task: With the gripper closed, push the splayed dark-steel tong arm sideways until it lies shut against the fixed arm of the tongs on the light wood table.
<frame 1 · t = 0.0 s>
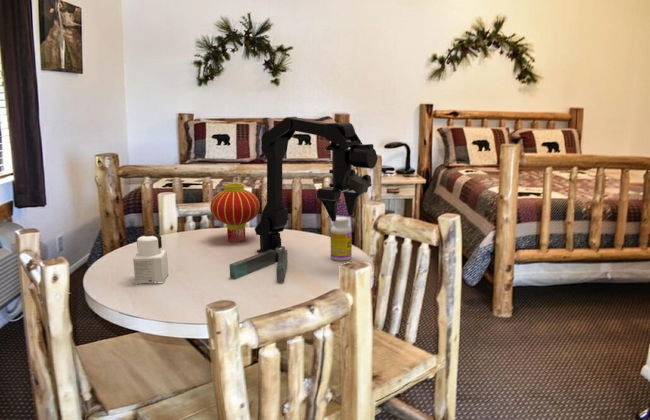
hand: (342, 218, 165), 15 cm above the table, fingers open, 9 cm apart
tong arm: (282, 265, 162), point 2 cm above the table, hinge at 35.0°
lantern: (236, 240, 198), on the table
container: (152, 280, 158), on the table
supplement bottle: (341, 258, 176), on the table
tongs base: (280, 261, 173), on the table
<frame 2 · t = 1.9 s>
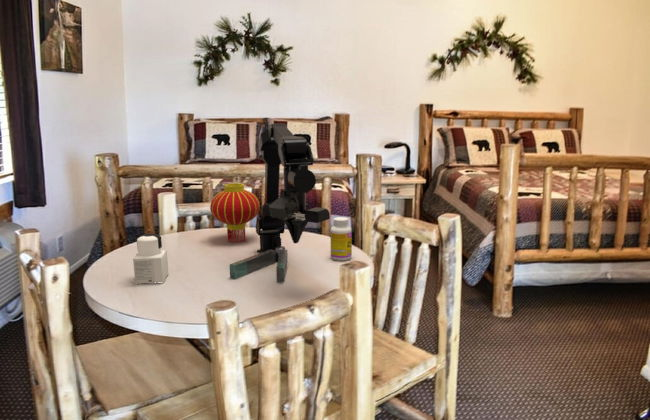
hand: (295, 243, 150), 12 cm above the table, fingers closed
nothing on the table moved.
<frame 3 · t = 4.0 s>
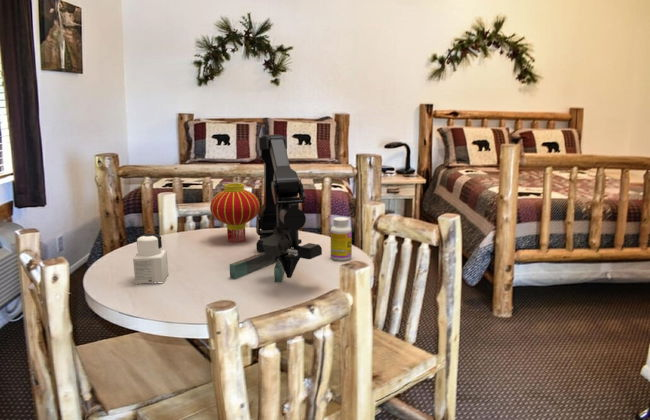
hand: (289, 277, 153), 2 cm above the table, fingers closed
tong arm: (281, 265, 162), point 2 cm above the table, hinge at 33.3°, touching gripper
everything else where it was.
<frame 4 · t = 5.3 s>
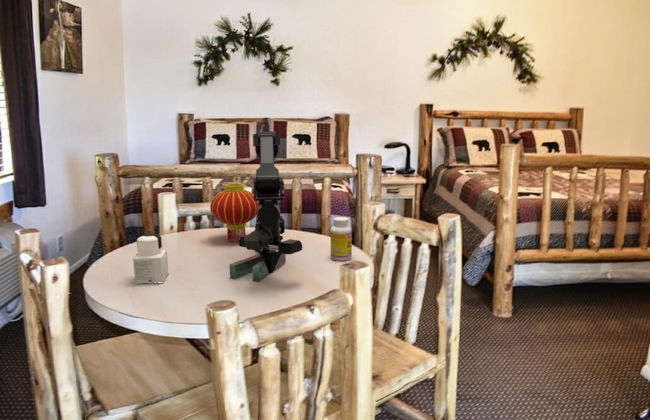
hand: (270, 273, 156), 2 cm above the table, fingers closed
tong arm: (269, 265, 162), point 2 cm above the table, hinge at 15.5°, touching gripper
everything else where it was.
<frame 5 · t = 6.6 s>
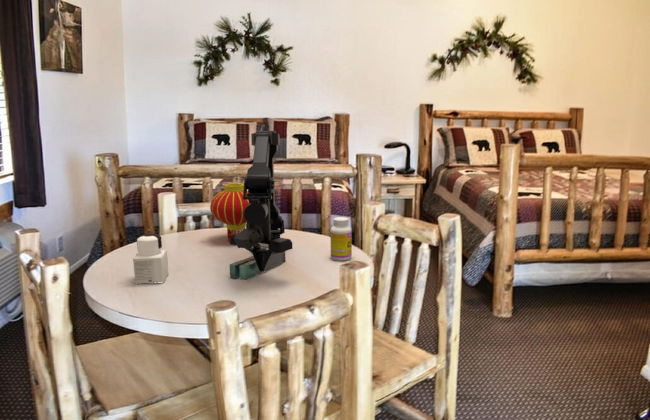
hand: (261, 271, 158), 2 cm above the table, fingers closed
tong arm: (262, 264, 163), point 2 cm above the table, hinge at 3.6°, touching gripper
everything else where it was.
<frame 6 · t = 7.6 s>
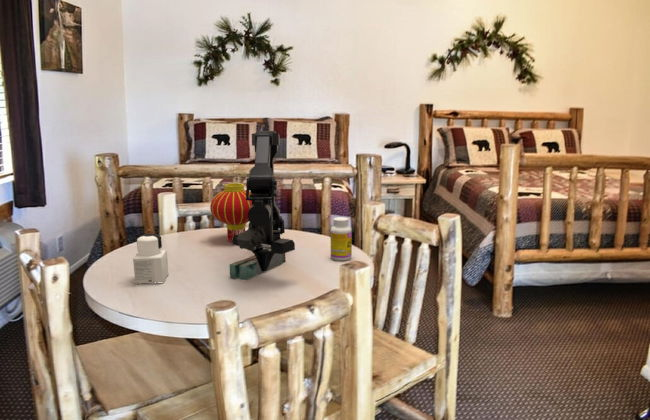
hand: (264, 271, 158), 2 cm above the table, fingers closed
tong arm: (262, 264, 163), point 2 cm above the table, hinge at 3.4°
everything else where it was.
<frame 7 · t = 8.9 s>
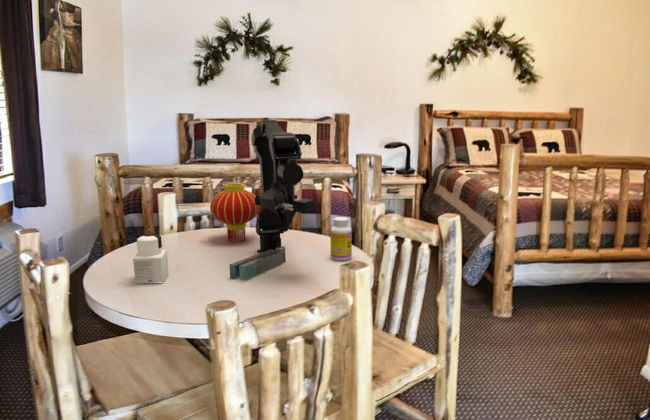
hand: (285, 231, 162), 12 cm above the table, fingers closed
nothing on the table moved.
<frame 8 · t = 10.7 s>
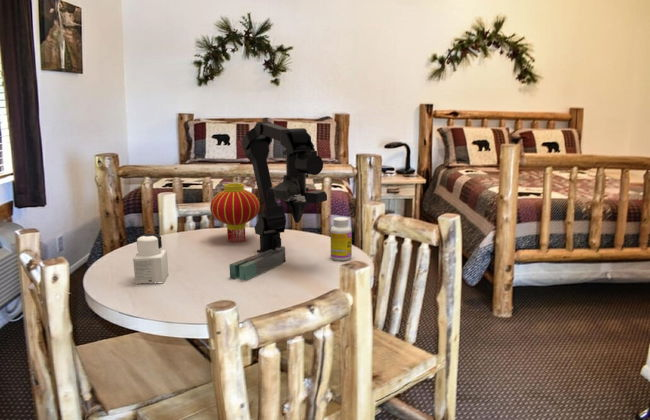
hand: (297, 222, 168), 13 cm above the table, fingers closed
nothing on the table moved.
at the end: tong arm at +3° (first picture: +35°) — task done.
